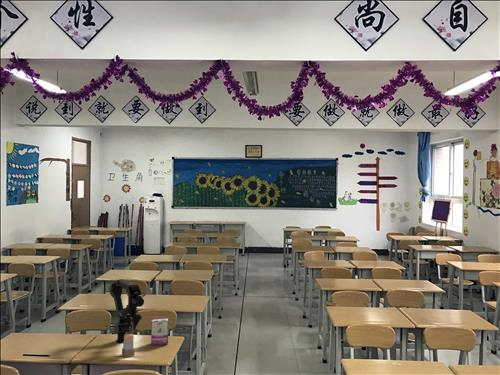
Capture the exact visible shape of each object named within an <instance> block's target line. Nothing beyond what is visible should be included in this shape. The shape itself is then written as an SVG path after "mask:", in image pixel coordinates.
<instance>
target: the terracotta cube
mask: <svg viewBox="0 0 500 375" xmlns="http://www.w3.org/2000/svg"><path fill="white" fill-rule="evenodd" d="M124 342H125V343H126V344H129V343H134V334H133V333H128V334H127V333H126V334H125V335H124Z"/></svg>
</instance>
